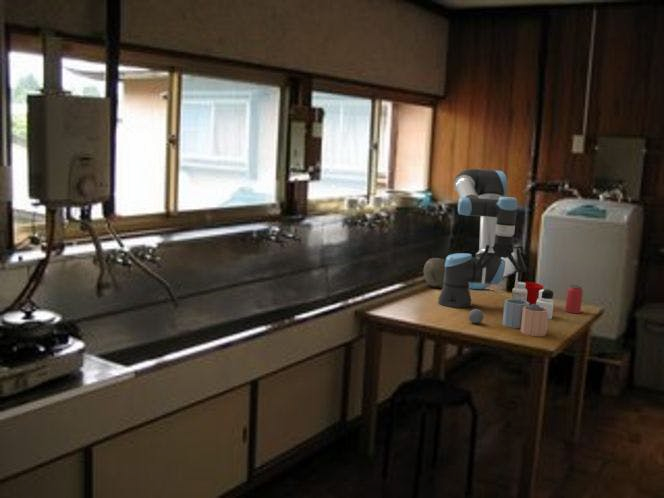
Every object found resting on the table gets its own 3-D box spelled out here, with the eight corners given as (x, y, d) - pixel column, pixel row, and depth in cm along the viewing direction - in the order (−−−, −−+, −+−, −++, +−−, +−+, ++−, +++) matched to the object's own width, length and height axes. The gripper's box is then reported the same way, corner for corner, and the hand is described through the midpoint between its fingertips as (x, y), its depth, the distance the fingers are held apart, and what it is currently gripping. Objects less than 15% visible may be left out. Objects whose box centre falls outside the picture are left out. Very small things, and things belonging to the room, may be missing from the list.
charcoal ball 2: (525, 320, 295) (522, 306, 299) (536, 322, 298) (533, 308, 301) (535, 314, 291) (531, 300, 294) (546, 316, 294) (543, 302, 297)
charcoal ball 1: (465, 321, 307) (466, 307, 306) (476, 320, 310) (477, 307, 309) (474, 325, 302) (475, 311, 301) (485, 324, 305) (487, 310, 304)
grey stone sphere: (455, 289, 373) (457, 259, 371) (433, 290, 366) (436, 261, 363) (437, 283, 385) (439, 255, 382) (415, 284, 377) (418, 256, 375)
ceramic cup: (533, 300, 357) (535, 280, 355) (544, 309, 340) (547, 288, 338) (507, 299, 356) (509, 279, 355) (517, 307, 339) (519, 286, 338)
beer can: (581, 314, 334) (584, 288, 332) (566, 312, 336) (569, 287, 334) (579, 311, 341) (582, 285, 339) (564, 309, 342) (567, 284, 340)
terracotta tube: (515, 330, 298) (517, 306, 297) (534, 328, 303) (536, 305, 301) (532, 337, 290) (534, 312, 288) (551, 335, 295) (553, 310, 293)
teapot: (483, 285, 389) (485, 265, 387) (494, 291, 374) (496, 271, 372) (456, 284, 386) (458, 265, 385) (466, 290, 372) (468, 270, 370)
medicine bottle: (552, 316, 328) (555, 289, 326) (551, 319, 321) (554, 292, 319) (535, 313, 330) (538, 287, 328) (534, 317, 323) (537, 290, 321)
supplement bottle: (515, 308, 339) (518, 280, 337) (528, 311, 334) (531, 283, 332) (507, 309, 334) (510, 282, 332) (520, 313, 329) (523, 285, 327)
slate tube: (497, 322, 309) (499, 299, 307) (515, 321, 314) (518, 298, 312) (513, 328, 301) (515, 305, 299) (531, 327, 305) (534, 303, 304)
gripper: (472, 232, 302) (467, 283, 306) (534, 239, 293) (528, 291, 296) (476, 230, 309) (471, 280, 313) (537, 237, 299) (531, 288, 303)
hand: (499, 285), depth 304 cm, fingers open, 13 cm apart
